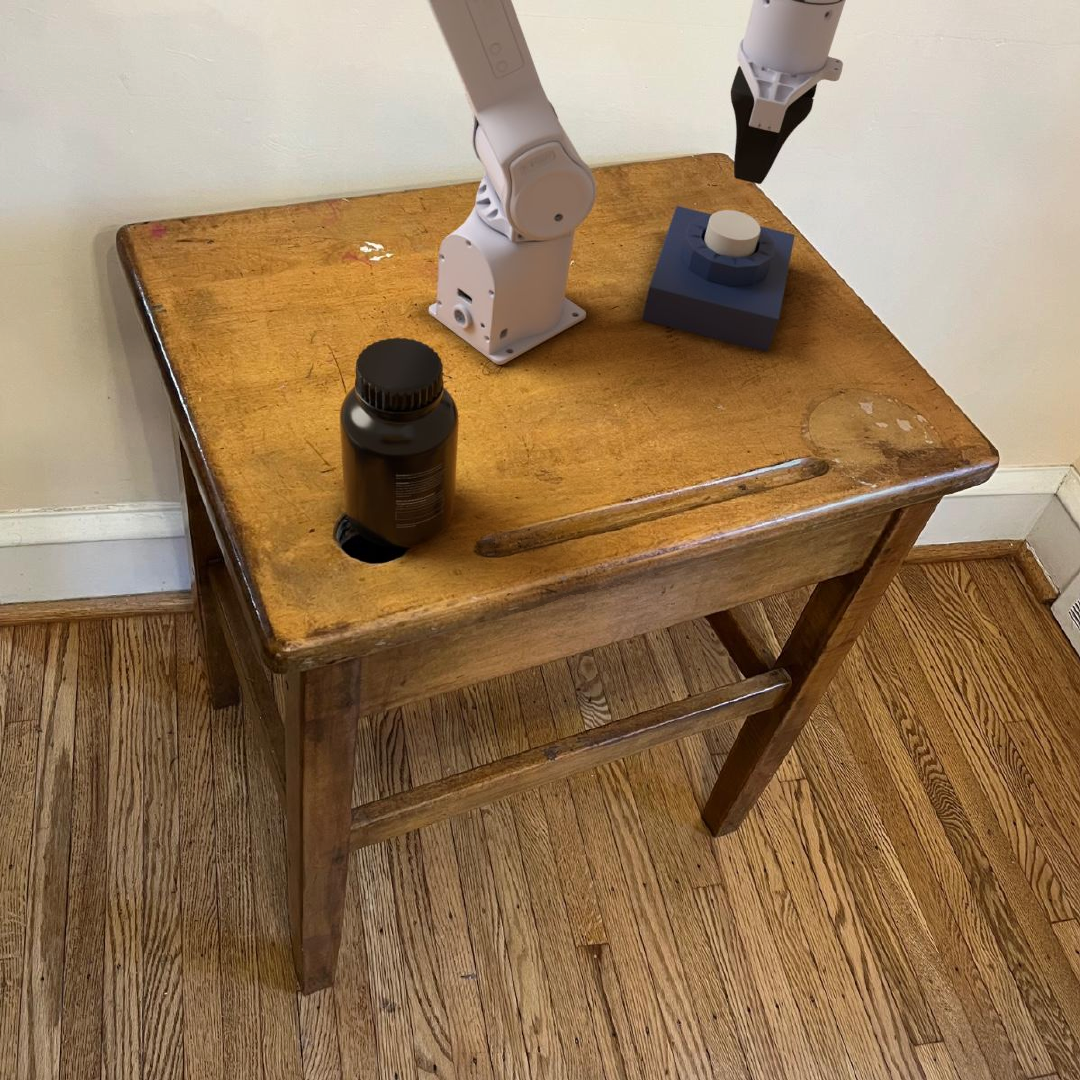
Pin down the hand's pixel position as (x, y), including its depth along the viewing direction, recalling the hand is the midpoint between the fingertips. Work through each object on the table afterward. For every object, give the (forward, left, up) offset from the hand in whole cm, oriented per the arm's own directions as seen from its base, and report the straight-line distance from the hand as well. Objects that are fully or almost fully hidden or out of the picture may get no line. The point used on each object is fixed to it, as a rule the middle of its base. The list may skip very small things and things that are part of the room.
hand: (748, 176), depth 79 cm
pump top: (0, 0, -6) cm, 6 cm away
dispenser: (0, 0, -10) cm, 10 cm away
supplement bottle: (-35, -2, -11) cm, 37 cm away
